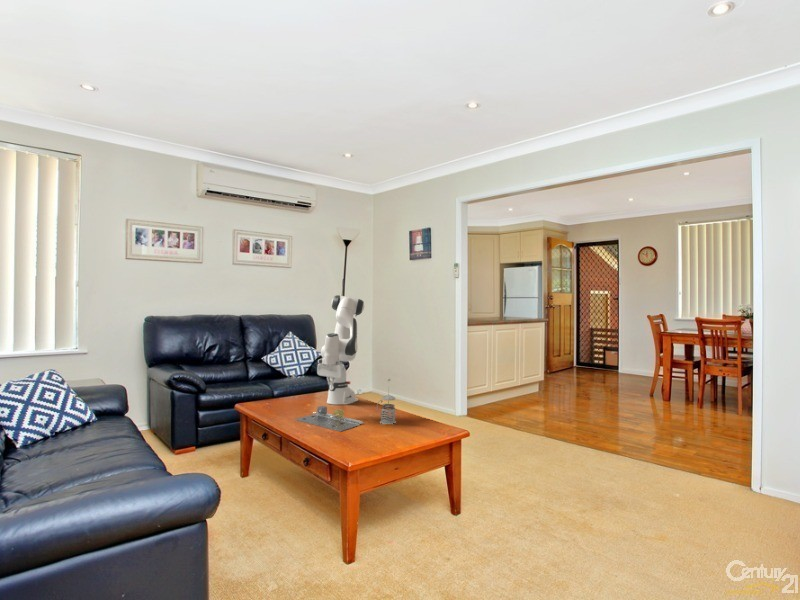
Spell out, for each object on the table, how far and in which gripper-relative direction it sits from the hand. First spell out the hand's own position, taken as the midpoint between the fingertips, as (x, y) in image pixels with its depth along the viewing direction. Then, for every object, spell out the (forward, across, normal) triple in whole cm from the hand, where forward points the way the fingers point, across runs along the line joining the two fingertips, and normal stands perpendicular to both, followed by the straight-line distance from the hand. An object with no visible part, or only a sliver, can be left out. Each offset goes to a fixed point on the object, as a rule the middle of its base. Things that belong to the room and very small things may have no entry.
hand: (330, 384), depth 272 cm
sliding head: (+17, -8, +2) cm, 19 cm away
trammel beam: (+19, -7, +2) cm, 21 cm away
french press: (+19, -32, -13) cm, 40 cm away
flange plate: (+20, -7, +10) cm, 23 cm away
